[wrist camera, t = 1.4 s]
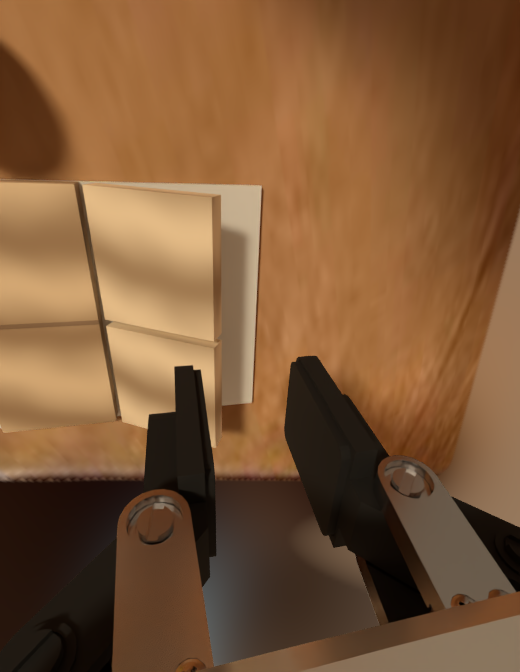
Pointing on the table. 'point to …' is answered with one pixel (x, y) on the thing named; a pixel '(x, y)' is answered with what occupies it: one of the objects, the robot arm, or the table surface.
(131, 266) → the plank near
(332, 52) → the table surface
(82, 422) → the row
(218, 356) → the plank far
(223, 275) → the underlay mat
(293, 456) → the robot arm
